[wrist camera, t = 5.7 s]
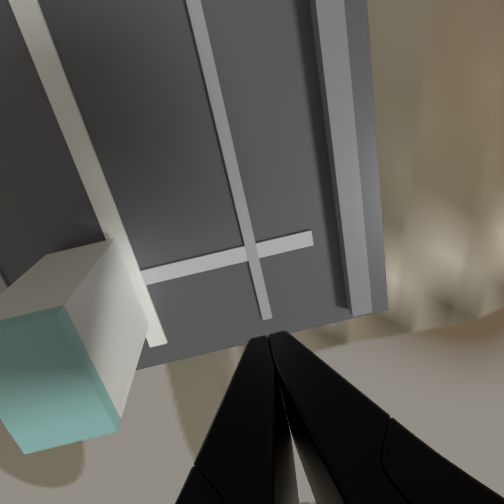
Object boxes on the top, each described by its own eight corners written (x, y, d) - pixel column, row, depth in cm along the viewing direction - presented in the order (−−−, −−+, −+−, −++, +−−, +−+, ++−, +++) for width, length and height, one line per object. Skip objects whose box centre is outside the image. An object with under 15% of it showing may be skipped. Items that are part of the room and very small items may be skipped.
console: (321, -304, 9) (350, -418, 7) (373, 292, 16) (395, 317, 14) (-411, -142, 9) (-588, -212, 7) (-35, 390, 16) (-69, 429, 14)
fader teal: (115, 238, 12) (56, 314, 8) (149, 324, 13) (117, 431, 9) (45, 254, 12) (-54, 341, 7) (87, 339, 13) (24, 454, 9)
